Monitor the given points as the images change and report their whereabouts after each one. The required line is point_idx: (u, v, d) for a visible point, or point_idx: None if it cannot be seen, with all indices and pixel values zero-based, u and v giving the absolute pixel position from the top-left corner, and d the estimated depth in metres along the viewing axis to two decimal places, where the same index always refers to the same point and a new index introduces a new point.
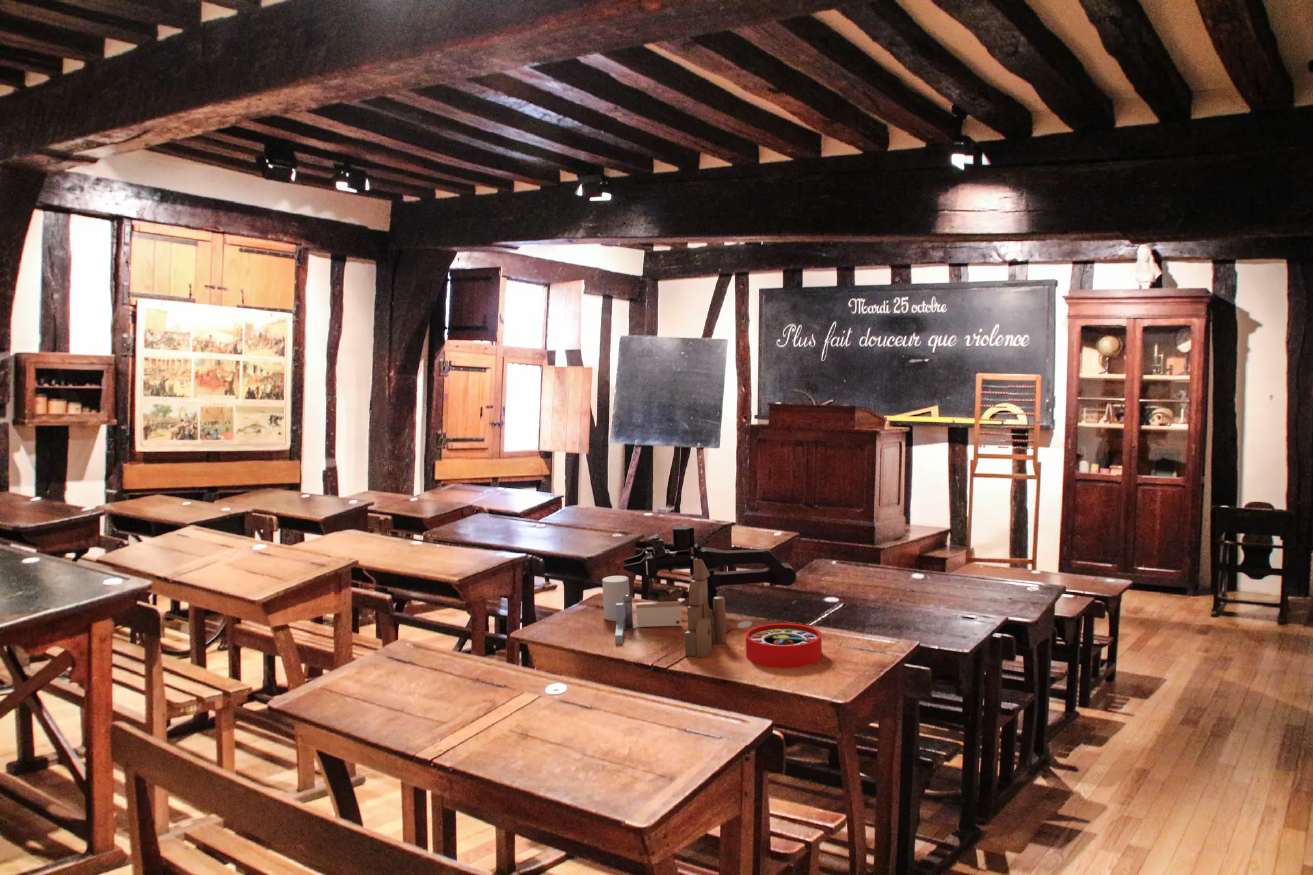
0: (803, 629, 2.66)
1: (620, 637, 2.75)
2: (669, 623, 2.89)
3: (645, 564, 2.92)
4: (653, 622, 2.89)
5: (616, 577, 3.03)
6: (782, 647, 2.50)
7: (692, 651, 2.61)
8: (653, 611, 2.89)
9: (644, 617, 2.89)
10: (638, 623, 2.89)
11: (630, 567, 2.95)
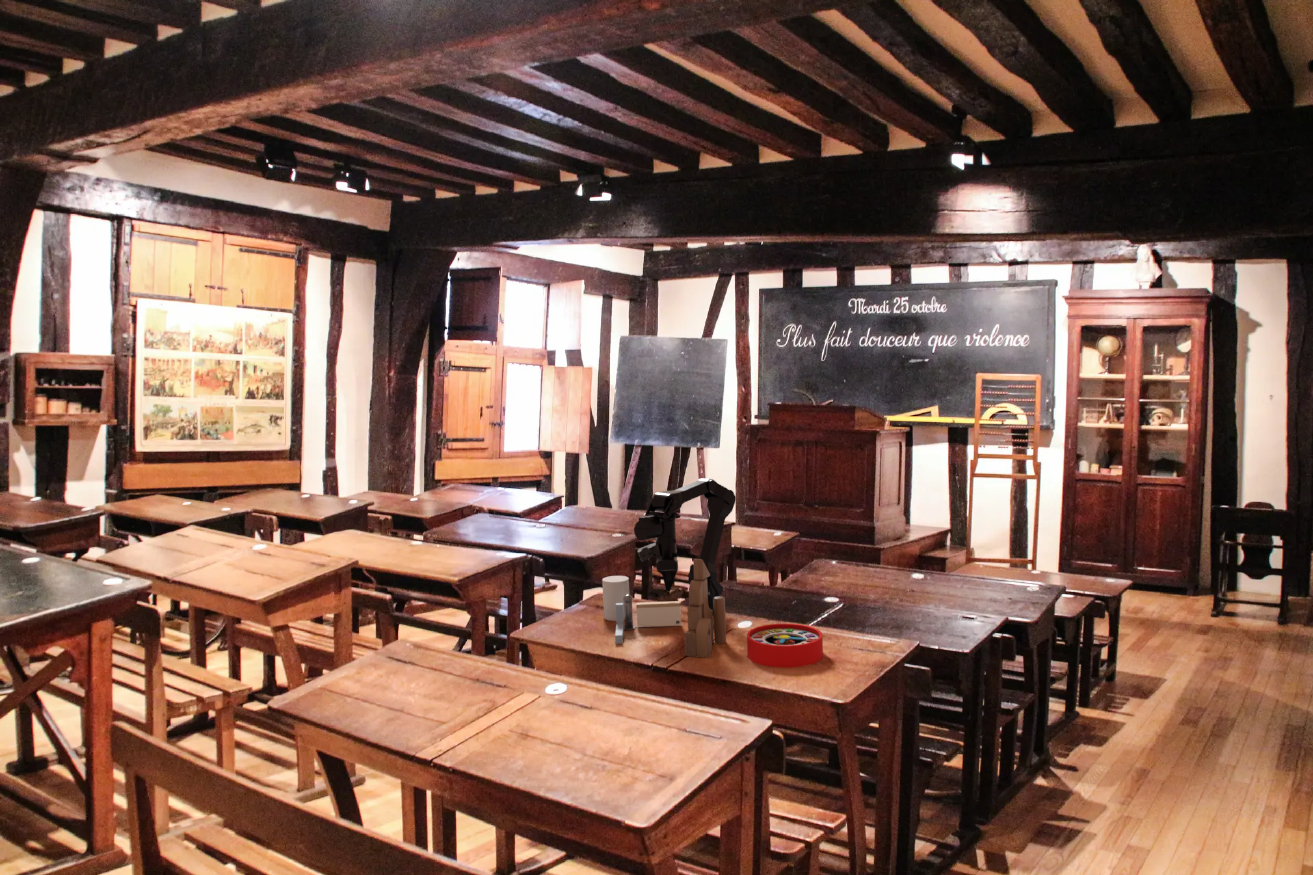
0: (804, 629, 2.66)
1: (620, 637, 2.75)
2: (669, 623, 2.89)
3: (663, 570, 2.80)
4: (653, 622, 2.89)
5: (616, 577, 3.03)
6: (783, 647, 2.50)
7: (692, 651, 2.61)
8: (653, 611, 2.89)
9: (644, 617, 2.89)
10: (638, 623, 2.89)
11: (667, 584, 2.83)
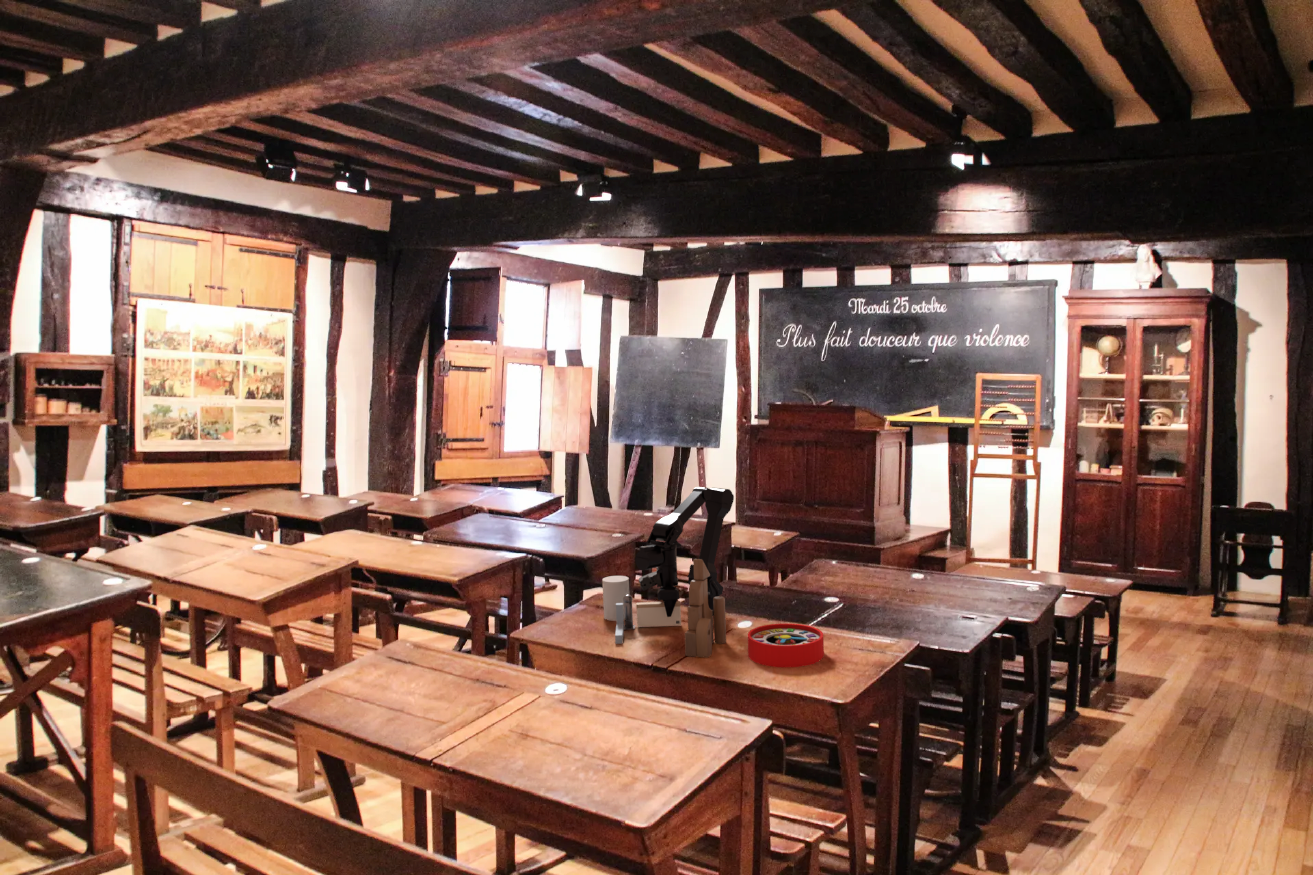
0: (805, 629, 2.66)
1: (620, 637, 2.75)
2: (669, 623, 2.89)
3: None
4: (653, 622, 2.89)
5: (616, 577, 3.03)
6: (784, 647, 2.50)
7: (692, 651, 2.61)
8: (653, 611, 2.89)
9: (644, 617, 2.89)
10: (638, 623, 2.89)
11: (668, 609, 2.88)
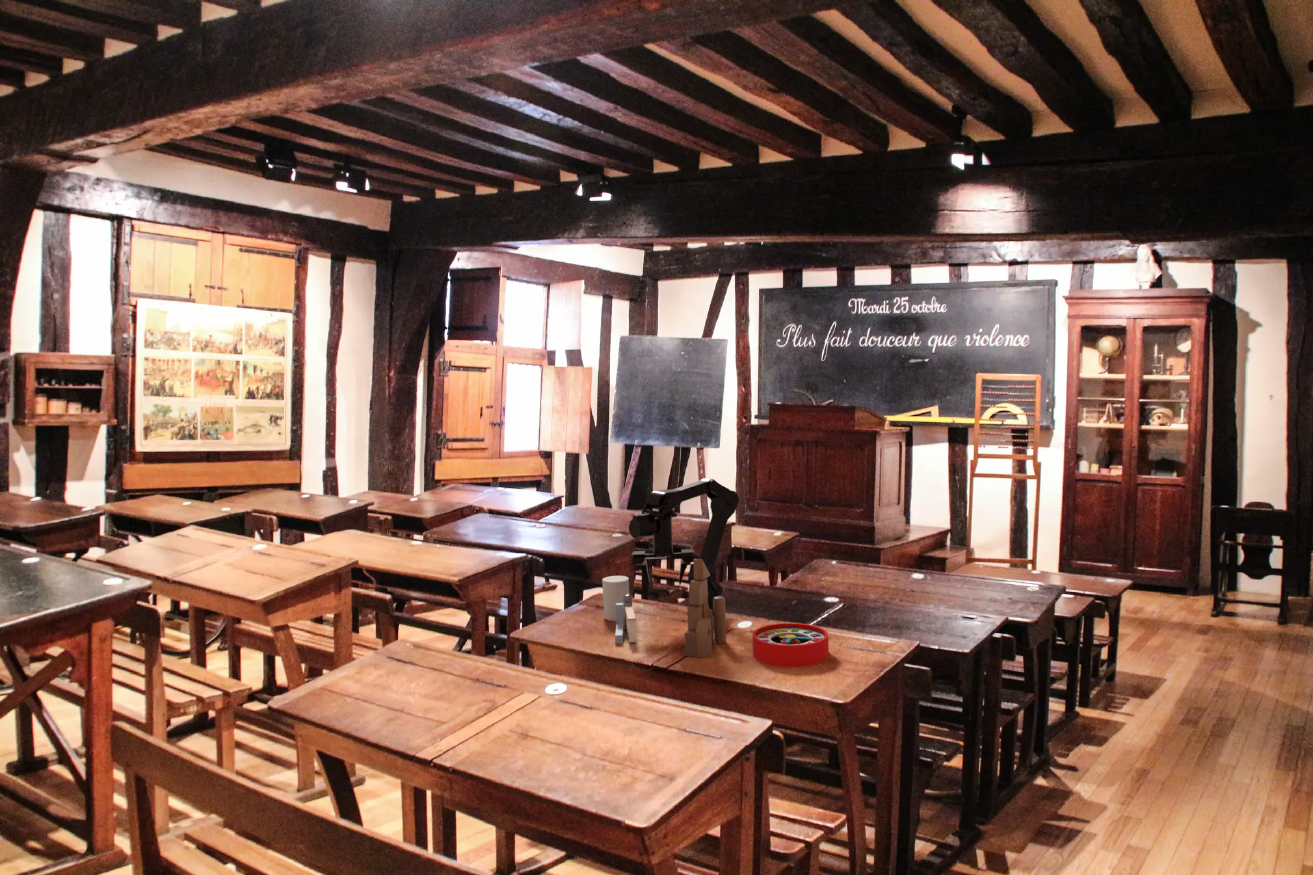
0: (809, 628, 2.67)
1: (620, 637, 2.75)
2: (628, 636, 2.78)
3: None
4: (627, 629, 2.83)
5: (616, 577, 3.03)
6: (790, 646, 2.50)
7: (692, 651, 2.61)
8: None
9: (626, 621, 2.85)
10: (626, 625, 2.87)
11: None
